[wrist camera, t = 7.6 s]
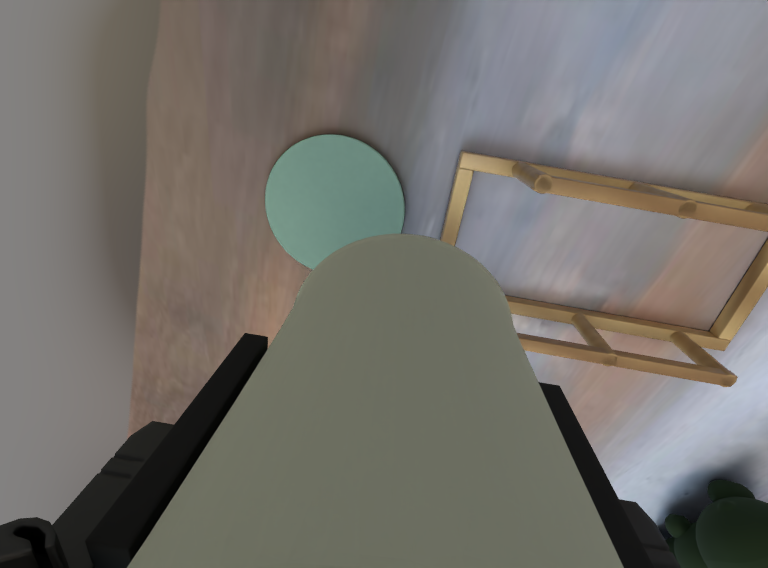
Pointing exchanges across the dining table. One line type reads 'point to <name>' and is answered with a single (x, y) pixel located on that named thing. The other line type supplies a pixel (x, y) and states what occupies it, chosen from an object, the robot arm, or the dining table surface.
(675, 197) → the dish rack
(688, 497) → the dining table surface
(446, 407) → the can
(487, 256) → the dining table surface
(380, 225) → the coaster
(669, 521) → the toy figurine
